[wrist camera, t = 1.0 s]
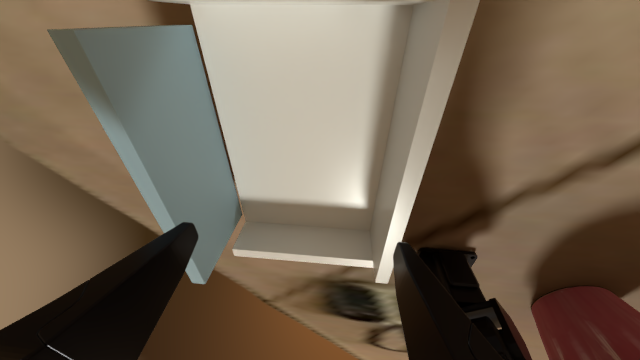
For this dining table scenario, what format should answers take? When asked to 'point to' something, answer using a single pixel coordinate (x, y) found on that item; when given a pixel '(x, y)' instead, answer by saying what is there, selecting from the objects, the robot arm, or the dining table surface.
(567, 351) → the plant pot
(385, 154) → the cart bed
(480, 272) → the dining table surface
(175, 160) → the tailgate
